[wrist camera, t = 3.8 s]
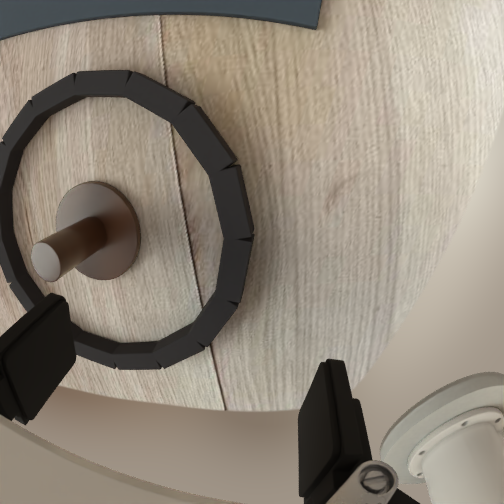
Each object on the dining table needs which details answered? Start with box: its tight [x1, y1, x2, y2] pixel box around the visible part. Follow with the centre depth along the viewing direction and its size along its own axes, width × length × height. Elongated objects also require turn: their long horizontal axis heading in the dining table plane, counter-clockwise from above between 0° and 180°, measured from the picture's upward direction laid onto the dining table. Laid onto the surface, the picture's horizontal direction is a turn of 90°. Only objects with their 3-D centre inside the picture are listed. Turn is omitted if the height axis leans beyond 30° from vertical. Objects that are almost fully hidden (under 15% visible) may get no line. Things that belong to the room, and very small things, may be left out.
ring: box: [0, 70, 254, 370], centre depth 20 cm, size 22×22×2 cm
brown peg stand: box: [31, 181, 141, 282], centre depth 18 cm, size 7×7×6 cm
